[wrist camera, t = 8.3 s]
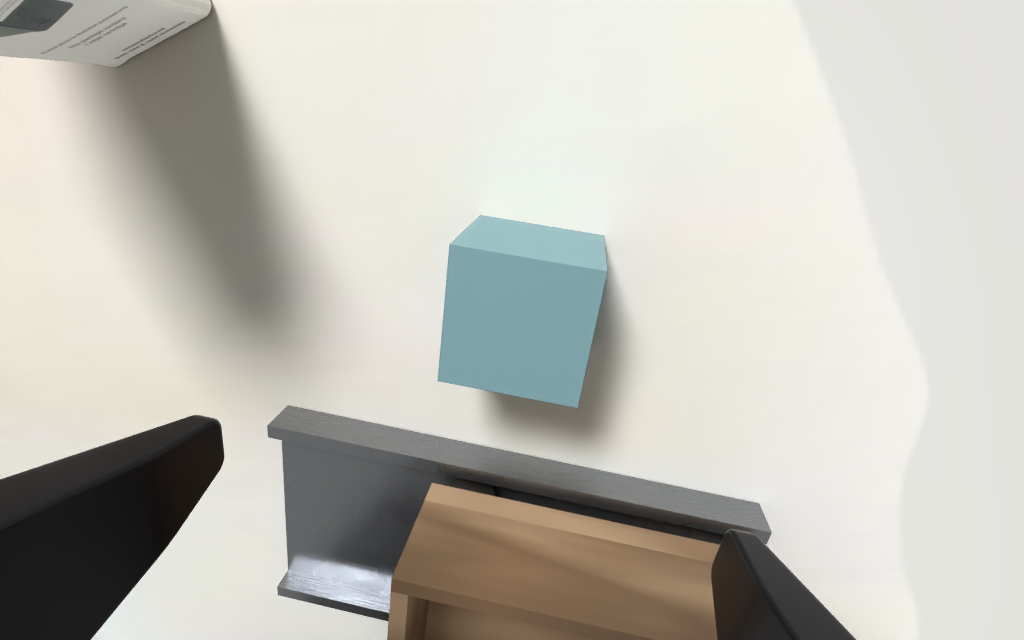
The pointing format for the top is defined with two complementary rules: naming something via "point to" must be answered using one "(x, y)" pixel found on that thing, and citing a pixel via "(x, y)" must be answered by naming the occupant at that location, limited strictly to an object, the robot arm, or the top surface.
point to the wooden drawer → (545, 574)
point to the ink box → (92, 27)
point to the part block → (521, 309)
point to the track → (404, 486)
